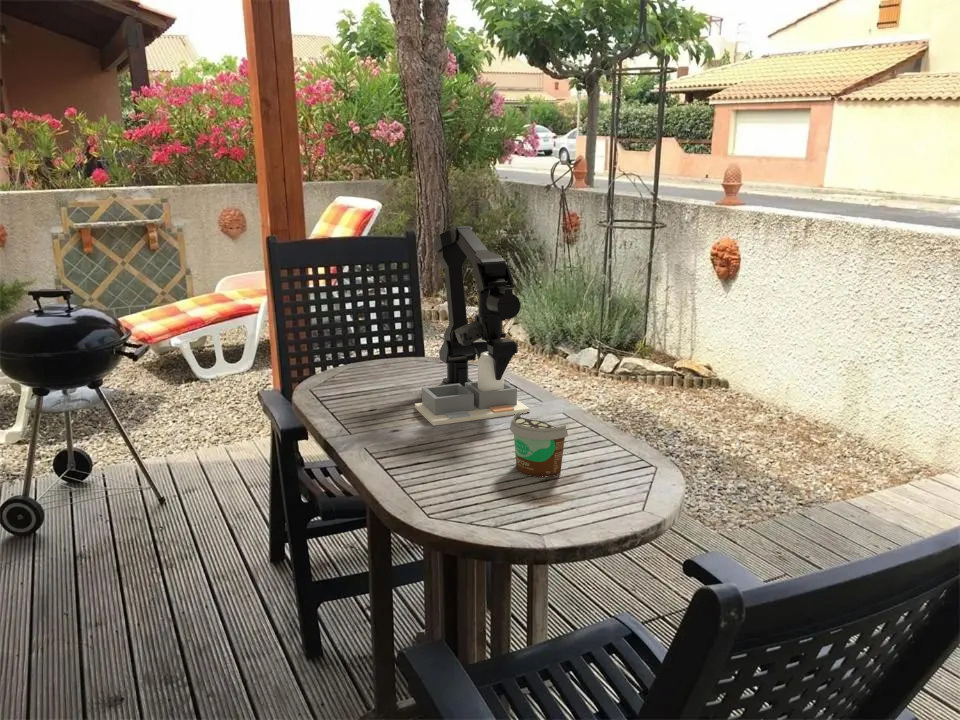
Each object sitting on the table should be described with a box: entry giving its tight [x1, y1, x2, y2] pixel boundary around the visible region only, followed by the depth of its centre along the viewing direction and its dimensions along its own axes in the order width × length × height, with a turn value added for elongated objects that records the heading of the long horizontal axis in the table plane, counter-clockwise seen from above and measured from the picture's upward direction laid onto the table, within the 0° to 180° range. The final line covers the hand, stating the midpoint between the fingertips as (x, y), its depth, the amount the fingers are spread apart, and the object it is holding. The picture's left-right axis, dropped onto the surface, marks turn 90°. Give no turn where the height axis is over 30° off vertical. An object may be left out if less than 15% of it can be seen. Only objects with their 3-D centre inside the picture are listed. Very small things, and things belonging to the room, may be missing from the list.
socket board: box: [414, 380, 531, 426], centre depth 183 cm, size 14×24×5 cm, turn 112°
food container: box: [509, 412, 569, 478], centre depth 146 cm, size 12×6×10 cm, turn 47°
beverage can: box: [477, 352, 505, 392], centre depth 185 cm, size 6×6×12 cm
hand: (490, 375), depth 185 cm, fingers open, 9 cm apart
